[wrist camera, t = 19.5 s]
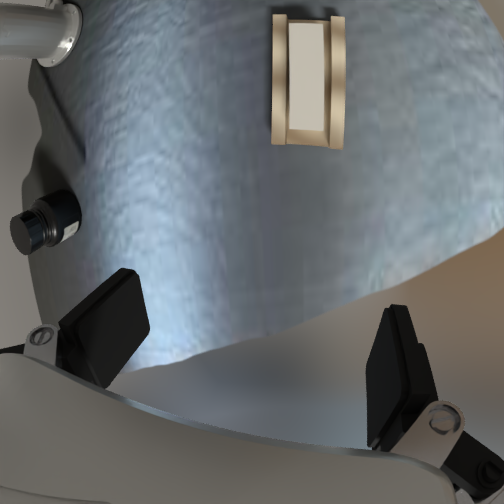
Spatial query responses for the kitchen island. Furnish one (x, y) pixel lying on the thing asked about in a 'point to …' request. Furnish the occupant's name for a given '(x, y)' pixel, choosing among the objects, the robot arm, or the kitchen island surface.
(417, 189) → the kitchen island surface
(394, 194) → the kitchen island surface
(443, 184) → the kitchen island surface
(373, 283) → the kitchen island surface
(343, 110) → the rack
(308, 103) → the strip
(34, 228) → the ink bottle
